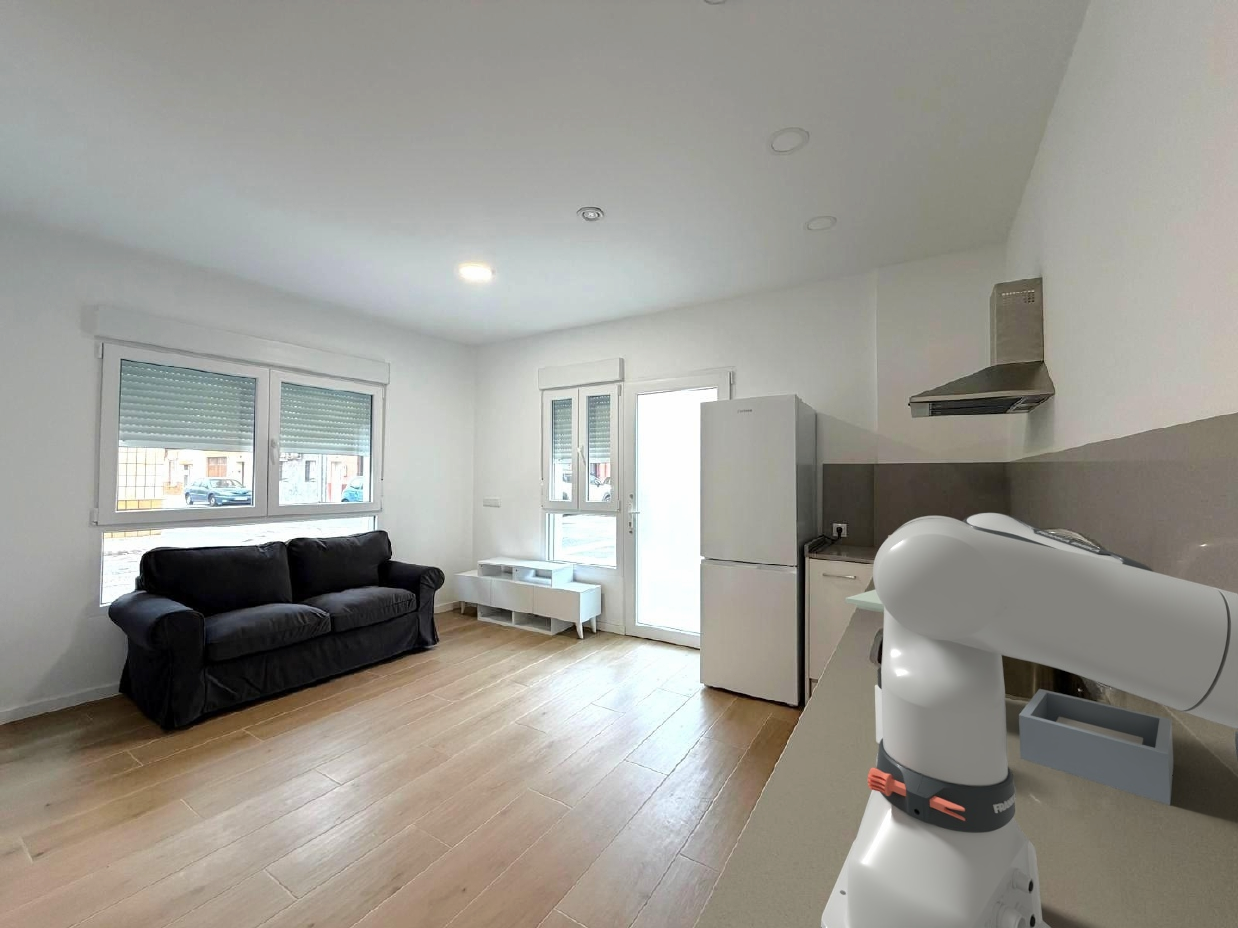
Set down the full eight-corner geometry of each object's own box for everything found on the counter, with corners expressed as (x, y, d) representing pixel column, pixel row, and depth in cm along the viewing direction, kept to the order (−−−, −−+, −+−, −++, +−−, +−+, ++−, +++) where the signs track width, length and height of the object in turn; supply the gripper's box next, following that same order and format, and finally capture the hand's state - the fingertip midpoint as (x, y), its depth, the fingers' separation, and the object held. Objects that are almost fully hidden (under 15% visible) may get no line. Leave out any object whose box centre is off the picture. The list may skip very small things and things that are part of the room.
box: (1170, 807, 68) (1167, 754, 69) (1020, 760, 80) (1018, 714, 81) (1173, 765, 79) (1171, 718, 79) (1040, 728, 91) (1039, 688, 91)
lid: (930, 622, 95) (928, 541, 96) (845, 607, 107) (843, 535, 108) (959, 609, 105) (956, 536, 106) (878, 597, 117) (876, 531, 118)
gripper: (942, 588, 90) (868, 576, 102) (996, 577, 101) (923, 568, 112) (941, 551, 90) (867, 544, 102) (995, 545, 101) (922, 539, 113)
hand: (897, 557), depth 107 cm, fingers closed on lid, 3 cm apart
